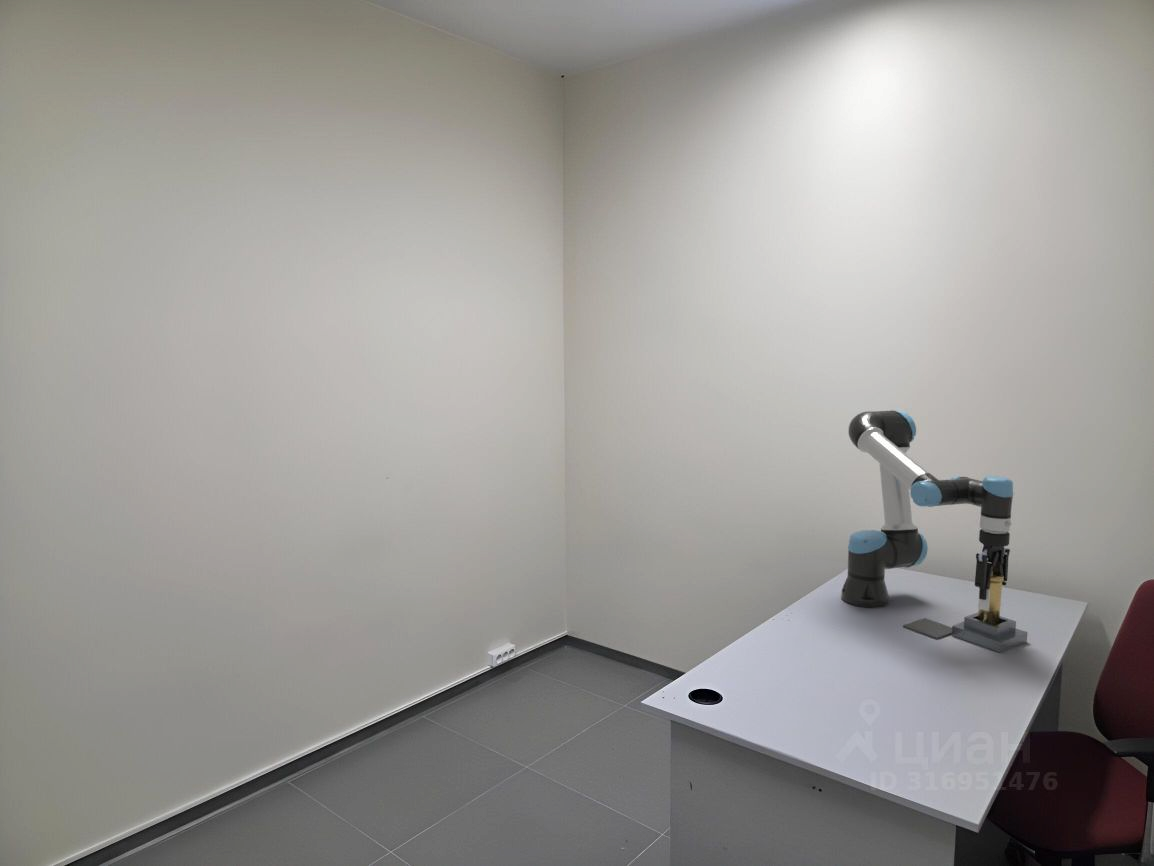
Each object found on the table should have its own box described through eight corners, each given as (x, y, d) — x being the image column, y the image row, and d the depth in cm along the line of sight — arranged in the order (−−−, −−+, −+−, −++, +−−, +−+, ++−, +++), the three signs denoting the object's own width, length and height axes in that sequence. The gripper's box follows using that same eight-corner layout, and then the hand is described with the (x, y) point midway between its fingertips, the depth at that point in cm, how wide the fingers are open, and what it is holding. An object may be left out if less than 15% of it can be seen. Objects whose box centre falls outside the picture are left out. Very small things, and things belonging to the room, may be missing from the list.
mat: (902, 627, 212) (903, 625, 212) (924, 619, 218) (924, 618, 218) (936, 639, 203) (937, 637, 203) (958, 631, 208) (958, 629, 208)
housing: (951, 635, 206) (952, 616, 205) (978, 625, 213) (979, 607, 212) (1000, 652, 194) (1001, 632, 193) (1026, 642, 201) (1028, 622, 200)
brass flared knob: (972, 620, 204) (975, 574, 202) (983, 616, 207) (986, 571, 205) (993, 627, 199) (996, 580, 197) (1004, 623, 202) (1007, 576, 200)
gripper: (990, 537, 192) (984, 618, 195) (1025, 528, 201) (1019, 605, 204) (963, 531, 198) (958, 609, 201) (998, 523, 207) (993, 597, 210)
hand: (989, 607), depth 202 cm, fingers closed on brass flared knob, 5 cm apart
